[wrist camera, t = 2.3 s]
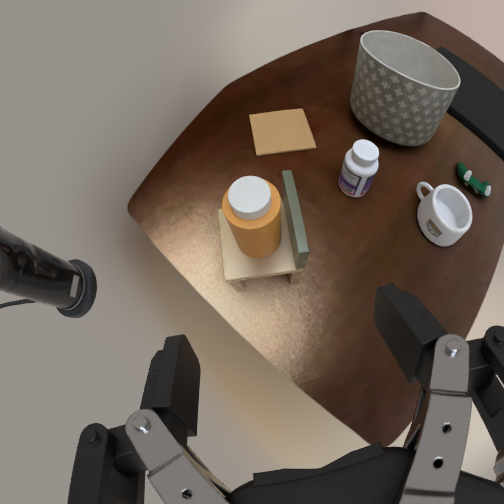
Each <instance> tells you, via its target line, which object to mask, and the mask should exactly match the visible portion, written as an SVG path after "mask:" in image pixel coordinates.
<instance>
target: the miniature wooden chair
mask: <svg viewBox="0 0 504 504" xmlns="http://www.w3.org/2000/svg"><path fill="white" fill-rule="evenodd" d="M218 216H219V227H220V238H221V249H222V260H223V270H224V279H225V281H226V282H230V283H231V285H232V286H233V287H234V288H235V289H236V290H237V291H238V292H240V291H246V289H245V281H244V280H248V279H255V278H262V277H268V276H275V275H281V274H288V273H289V278H290V284H293V283H299V279H300V275H301V272H302V271H304V268H305V264H306V261H307V258H308V254H309V247H308V242H307V237H306V232H305V227H304V223H303V218H302V214H301V209H300V205H299V200H298V196H297V192H296V188H295V183H294V179H293V175H292V171H291V170H287V171H282V199H281V235H282V236H281V243H280V245H279V247H278V249H277V250H276V251H275V252H274V253H273V254H272V255H270V256H268V257H265V258H252V257H249V256H247V255H245V254H244V253H243V252H242V251H241V250H240V248H239V247H238V244H237V242H236V240H235V238H234V236H233V233H232V231H231V229H230V227H229V224H228V222H227V220H226V218H225V216H224V213H223V209H218Z"/></svg>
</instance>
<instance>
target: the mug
mask: <svg viewBox="0 0 504 504" xmlns="http://www.w3.org/2000/svg"><path fill="white" fill-rule="evenodd" d="M422 186H424V187H426V188H427V189H428V190H429V191H430V193H429V194H428V195H427V196H426V197H424V196H423V195H422V193H421V187H422ZM416 190H417V194H418V196H419V198H420V199H421V202H420V204H419V206H418V210H417V218H418V223H419V225H420V228H421V230H422V232H423V233H424V235H425V236H426V237H427V238H428V239H429V240H430V241H431V242H433V243H435V244H436V245H439V246H449V245H452V244H454V243H455V242H456V241H457V240H458V239H459V238H460V237H461V236H462V235H463V234H464V233H465V232H466V231H467V230H468V229H469V227H470V225H471V223H472V210H471V207H470V204H469V202H468V200H467V199H466V197H465V196H464V195H463V194H462V193H461V192H460V191H459V190H458V189H457V188H455V187H453V186H451V185H446V184H444V185H440V186H438V187H436V188H435V189H433V188H432V187H431V186H430V185H429V184H428V183H426V182H420V183H418V185H417V188H416Z"/></svg>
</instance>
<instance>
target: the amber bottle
mask: <svg viewBox="0 0 504 504" xmlns="http://www.w3.org/2000/svg"><path fill="white" fill-rule="evenodd" d="M222 209H223V213H224V216H225V218H226V220H227V222H228V224H229V227H230V229H231V231H232V233H233V236H234V238H235V240H236V242H237V244H238V247H239V248H240V250H241V251H242V252H243V253H244V254H245V255H247V256H249V257H252V258H265V257H268V256H270V255H272V254H273V253H274V252H275V251H276V250H277V249H278V247H279V245H280V243H281V236H282V235H281V199H280V195H279V192H278V191H277V189H276V188H275V187H274V186H273V185H272V184H271V183H270V182H268V181H266V180H263V179H261V178H259V177H256V176H245V177H242V178H240V179H238V180H236V181H235V182H234V183H233V184H232V185H231V187H230V188H229V189H228V190H227V191H226V193H225V195H224V197H223V201H222Z"/></svg>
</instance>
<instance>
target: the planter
mask: <svg viewBox="0 0 504 504" xmlns="http://www.w3.org/2000/svg"><path fill="white" fill-rule="evenodd" d="M459 86H460V77H459V74H458V72H457V71H456V69H455V68H454V67H453V65H452V64H451V63H450V62H449V61H448V60H447V59H446V58H445V57H443V56H442V55H441V54H440V53H438V52H437V51H436V50H434V49H433V48H431V47H429V46H428V45H426V44H424V43H422V42H420V41H418V40H416V39H414V38H411V37H409V36H406V35H403V34H399V33H395V32H390V31H381V30H376V31H369V32H367V33H365V34H363V35H362V37H361V39H360V46H359V52H358V58H357V63H356V69H355V75H354V80H353V85H352V90H351V95H350V106H351V109H352V111H353V113H354V114H355V116H356V117H357V119H358V120H359V121H360V122H361V123H362V124H363V125H364V126H365V127H366V128H368V129H369V130H370V131H372V132H373V133H375V134H376V135H378V136H380V137H382V138H384V139H386V140H388V141H391V142H393V143H396V144H400V145H405V146H419V145H423V144H425V143H427V142H428V141H429V140H430V139H431V138H432V136H433V135H434V133H435V131H436V129H437V128H438V126H439V124H440V122H441V120H442V119H443V117H444V115H445V113H446V111H447V109H448V107H449V106H450V104H451V102H452V100H453V98H454V96H455V94H456V92H457V90H458V88H459Z"/></svg>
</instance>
